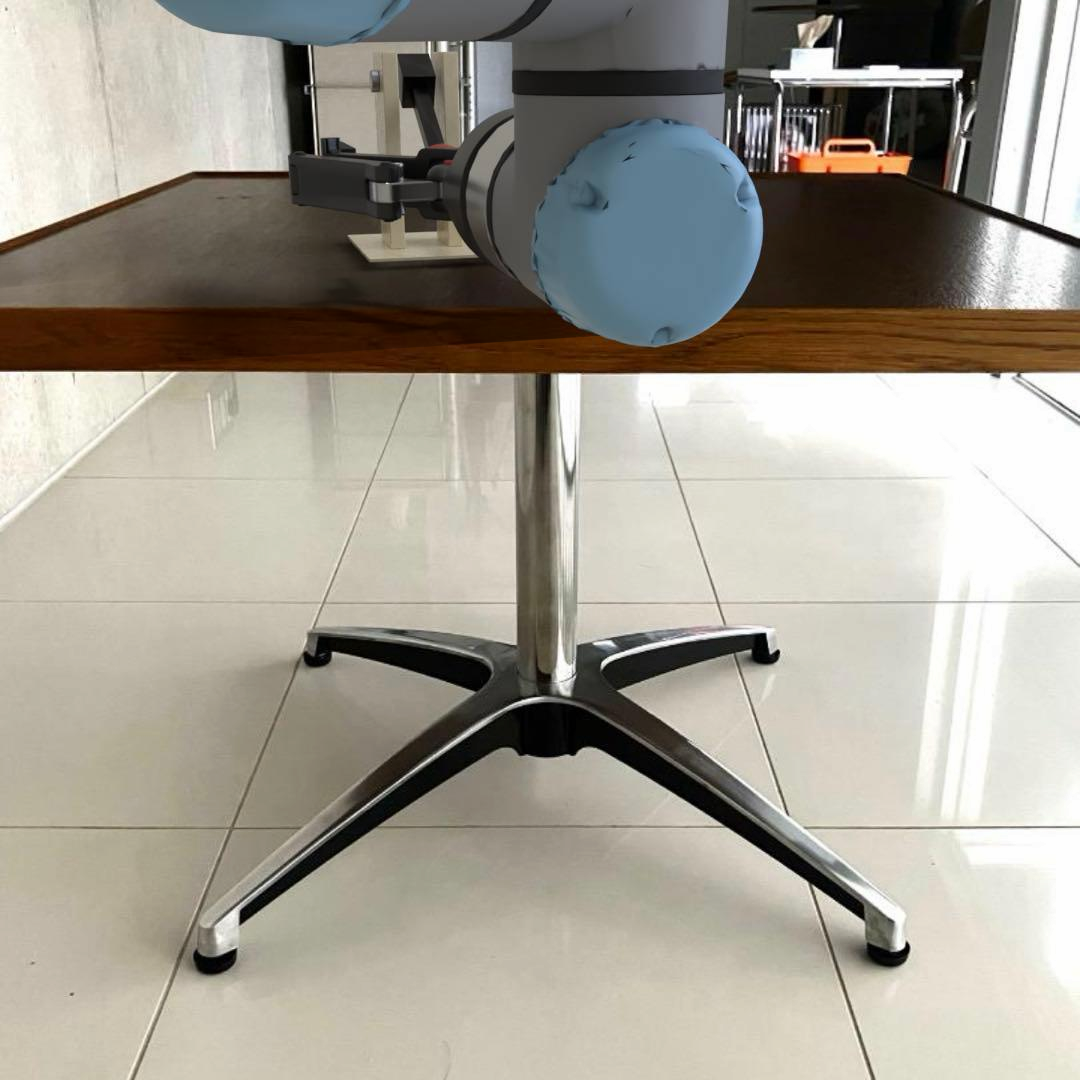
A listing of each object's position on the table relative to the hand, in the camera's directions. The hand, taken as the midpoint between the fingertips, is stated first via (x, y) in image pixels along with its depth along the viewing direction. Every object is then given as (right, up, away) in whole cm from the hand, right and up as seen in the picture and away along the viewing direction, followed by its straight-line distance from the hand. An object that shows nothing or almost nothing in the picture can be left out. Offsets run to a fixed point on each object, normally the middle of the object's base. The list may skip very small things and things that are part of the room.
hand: (450, 162), depth 73 cm
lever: (-2, +3, +7) cm, 8 cm away
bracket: (-3, -3, +13) cm, 14 cm away
